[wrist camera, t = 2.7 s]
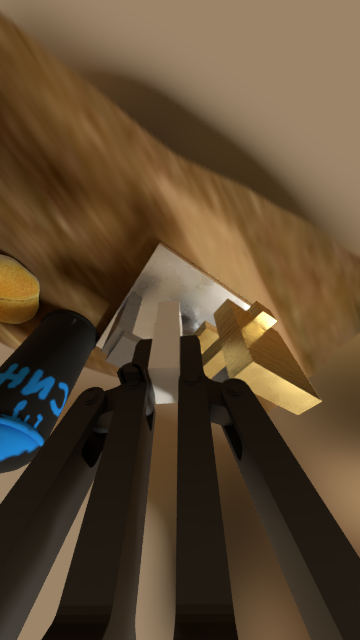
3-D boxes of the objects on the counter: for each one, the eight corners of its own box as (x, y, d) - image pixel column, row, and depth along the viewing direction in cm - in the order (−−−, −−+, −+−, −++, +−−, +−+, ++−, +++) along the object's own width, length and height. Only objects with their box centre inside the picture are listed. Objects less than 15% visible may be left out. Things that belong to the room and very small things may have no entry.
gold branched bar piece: (133, 380, 28) (112, 476, 19) (227, 269, 20) (269, 348, 11) (171, 396, 30) (167, 490, 21) (272, 302, 22) (338, 391, 13)
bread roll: (43, 264, 26) (24, 277, 23) (42, 320, 31) (25, 338, 28) (-33, 239, 24) (-66, 249, 21) (-23, 303, 29) (-48, 319, 26)
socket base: (98, 340, 33) (72, 393, 25) (160, 240, 24) (151, 272, 17) (192, 384, 39) (195, 438, 31) (267, 315, 30) (299, 365, 22)
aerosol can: (76, 360, 35) (-14, 525, 19) (30, 329, 31) (-135, 500, 15) (109, 336, 32) (37, 505, 16) (62, 298, 29) (-96, 467, 12)
